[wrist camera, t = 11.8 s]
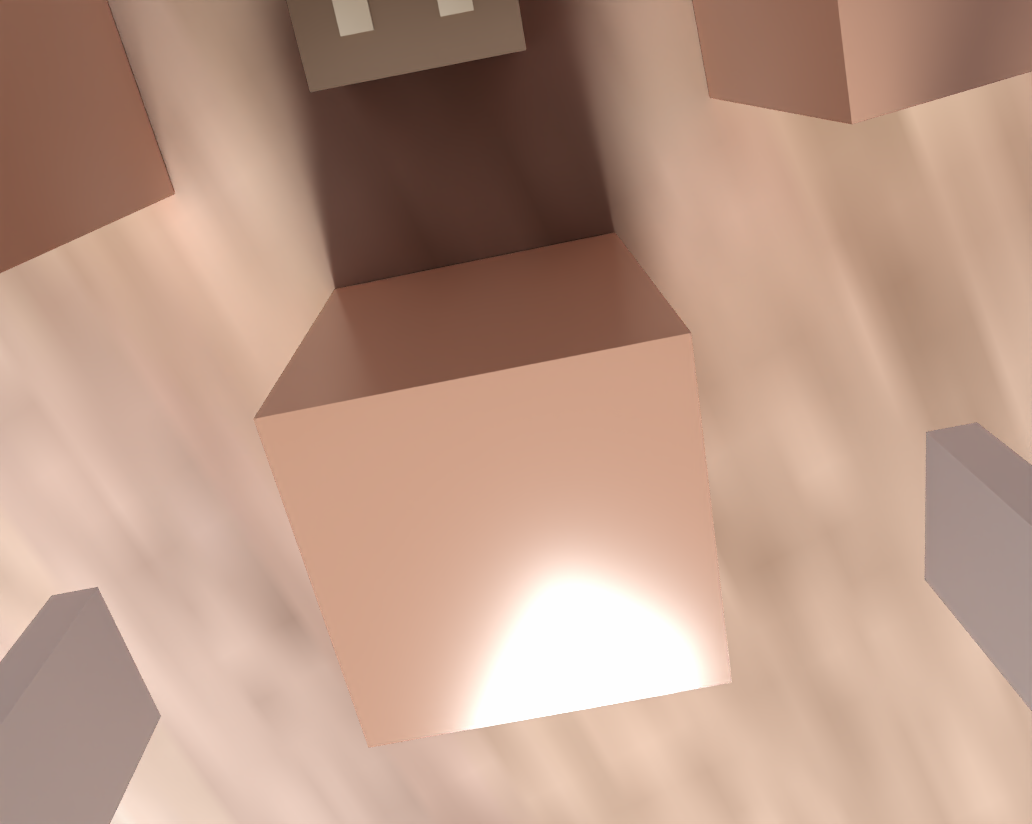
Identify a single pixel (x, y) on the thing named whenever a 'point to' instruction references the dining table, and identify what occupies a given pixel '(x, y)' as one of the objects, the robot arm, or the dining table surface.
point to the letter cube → (398, 36)
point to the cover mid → (502, 491)
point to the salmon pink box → (69, 128)
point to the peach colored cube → (858, 52)
